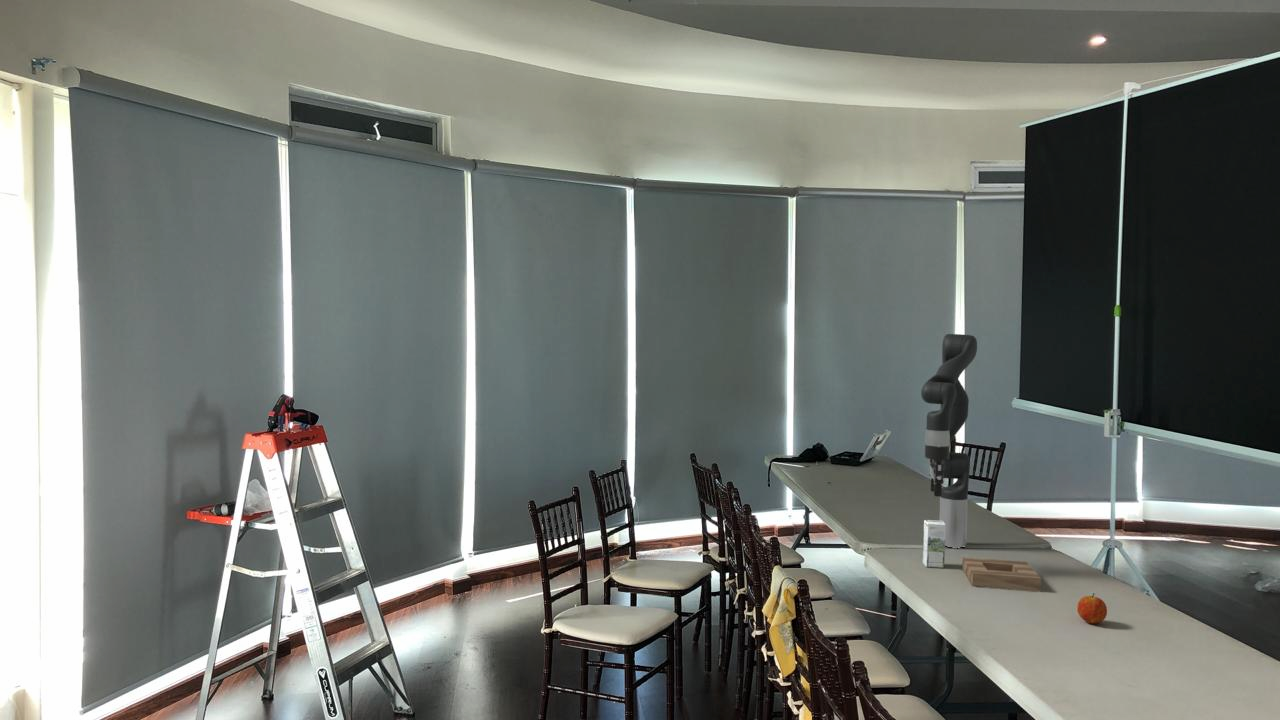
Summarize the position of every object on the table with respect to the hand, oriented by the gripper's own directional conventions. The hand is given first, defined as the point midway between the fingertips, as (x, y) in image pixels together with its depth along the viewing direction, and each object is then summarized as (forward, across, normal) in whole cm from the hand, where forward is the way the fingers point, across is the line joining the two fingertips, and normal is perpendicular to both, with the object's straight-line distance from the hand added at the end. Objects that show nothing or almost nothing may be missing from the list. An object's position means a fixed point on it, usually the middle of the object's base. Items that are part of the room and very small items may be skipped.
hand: (935, 493), depth 283 cm
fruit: (+24, +48, +34) cm, 63 cm away
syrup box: (+24, 0, 0) cm, 24 cm away
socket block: (+24, +12, +18) cm, 32 cm away
